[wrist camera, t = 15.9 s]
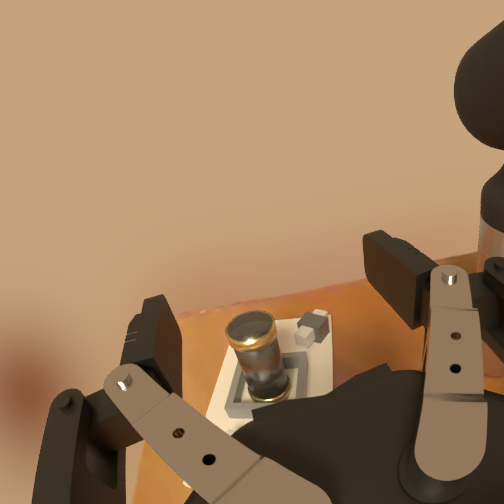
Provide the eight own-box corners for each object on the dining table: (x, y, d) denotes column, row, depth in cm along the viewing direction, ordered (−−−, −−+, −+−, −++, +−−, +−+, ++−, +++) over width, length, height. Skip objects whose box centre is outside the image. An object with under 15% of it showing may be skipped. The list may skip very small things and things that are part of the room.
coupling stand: (331, 320, 44) (329, 299, 43) (329, 496, 21) (328, 483, 20) (237, 328, 48) (231, 309, 46) (186, 486, 25) (172, 473, 24)
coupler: (293, 374, 36) (277, 308, 31) (289, 406, 31) (271, 341, 27) (253, 376, 37) (231, 312, 33) (246, 407, 33) (219, 344, 28)
